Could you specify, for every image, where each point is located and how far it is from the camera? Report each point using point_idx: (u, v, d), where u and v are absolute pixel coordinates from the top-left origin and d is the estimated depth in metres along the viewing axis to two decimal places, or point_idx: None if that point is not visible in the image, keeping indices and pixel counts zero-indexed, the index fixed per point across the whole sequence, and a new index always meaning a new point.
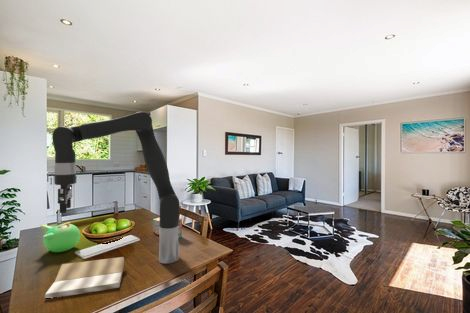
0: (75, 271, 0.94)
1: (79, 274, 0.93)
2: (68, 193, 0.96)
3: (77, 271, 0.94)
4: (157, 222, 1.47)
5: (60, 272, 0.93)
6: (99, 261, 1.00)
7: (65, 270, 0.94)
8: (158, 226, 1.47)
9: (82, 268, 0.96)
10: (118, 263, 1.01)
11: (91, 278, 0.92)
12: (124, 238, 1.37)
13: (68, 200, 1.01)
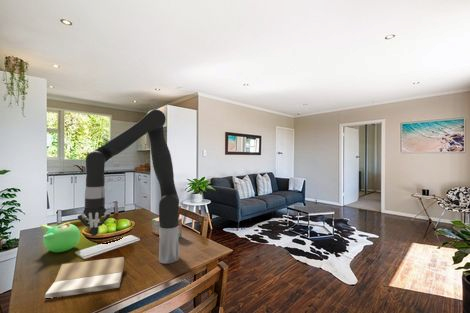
0: (75, 271, 0.94)
1: (79, 274, 0.93)
2: None
3: (77, 271, 0.94)
4: (157, 222, 1.47)
5: (60, 272, 0.93)
6: (99, 261, 1.00)
7: (65, 270, 0.94)
8: (158, 226, 1.47)
9: (82, 268, 0.96)
10: (118, 263, 1.01)
11: (91, 278, 0.92)
12: (124, 238, 1.37)
13: (94, 227, 1.00)
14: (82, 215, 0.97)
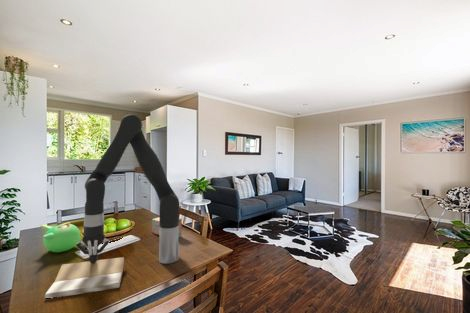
0: (75, 271, 0.94)
1: (79, 274, 0.93)
2: None
3: (77, 271, 0.94)
4: (156, 222, 1.47)
5: (60, 272, 0.93)
6: (99, 261, 1.00)
7: (66, 270, 0.94)
8: (157, 226, 1.47)
9: (82, 268, 0.96)
10: (118, 263, 1.01)
11: (91, 278, 0.92)
12: (124, 238, 1.37)
13: None
14: (81, 243, 0.97)
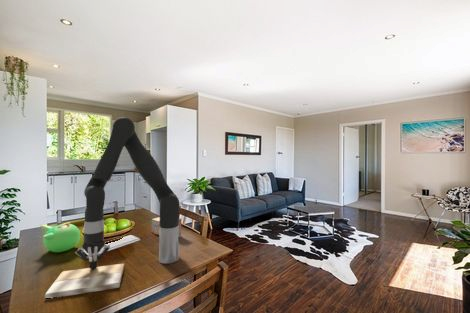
0: (75, 274, 0.95)
1: (79, 275, 0.94)
2: None
3: (77, 274, 0.95)
4: (156, 222, 1.47)
5: (60, 276, 0.93)
6: (99, 267, 1.01)
7: (66, 274, 0.94)
8: (157, 226, 1.47)
9: (82, 272, 0.96)
10: (118, 267, 1.01)
11: (91, 278, 0.92)
12: (124, 238, 1.37)
13: None
14: (81, 249, 0.97)
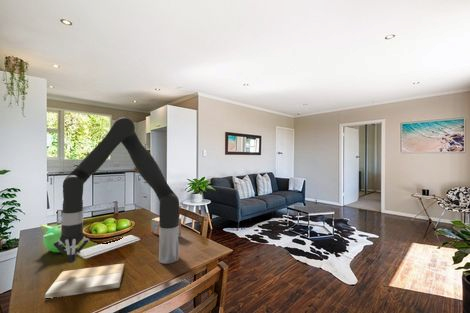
0: (75, 274, 0.95)
1: (79, 275, 0.94)
2: None
3: (77, 274, 0.95)
4: (156, 222, 1.47)
5: (60, 276, 0.93)
6: (99, 267, 1.01)
7: (66, 274, 0.94)
8: (157, 226, 1.47)
9: (82, 272, 0.96)
10: (118, 267, 1.01)
11: (91, 278, 0.92)
12: (124, 238, 1.37)
13: None
14: (58, 242, 0.94)
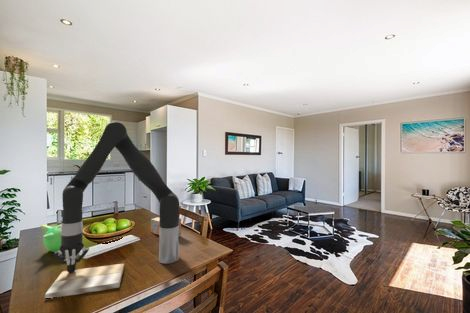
0: (75, 274, 0.95)
1: (79, 275, 0.94)
2: None
3: (77, 274, 0.95)
4: (155, 222, 1.47)
5: (60, 276, 0.93)
6: (99, 267, 1.01)
7: (66, 274, 0.94)
8: (157, 226, 1.47)
9: (82, 272, 0.96)
10: (118, 267, 1.01)
11: (91, 278, 0.92)
12: (124, 238, 1.37)
13: None
14: (58, 252, 0.94)
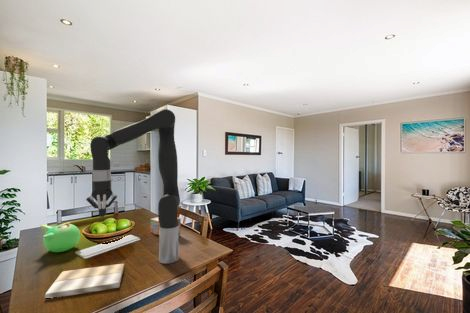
0: (75, 274, 0.95)
1: (79, 275, 0.94)
2: None
3: (77, 274, 0.95)
4: (155, 222, 1.47)
5: (60, 276, 0.93)
6: (99, 267, 1.01)
7: (66, 274, 0.94)
8: (156, 226, 1.47)
9: (82, 272, 0.96)
10: (118, 267, 1.01)
11: (91, 278, 0.92)
12: (124, 238, 1.37)
13: None
14: (90, 197, 1.03)
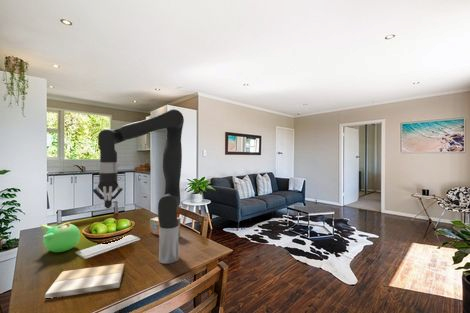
0: (75, 274, 0.95)
1: (79, 275, 0.94)
2: None
3: (77, 274, 0.95)
4: (155, 222, 1.47)
5: (60, 276, 0.93)
6: (99, 267, 1.01)
7: (66, 274, 0.94)
8: (156, 226, 1.47)
9: (82, 272, 0.96)
10: (118, 267, 1.01)
11: (91, 278, 0.92)
12: (124, 238, 1.38)
13: None
14: (97, 189, 1.05)
